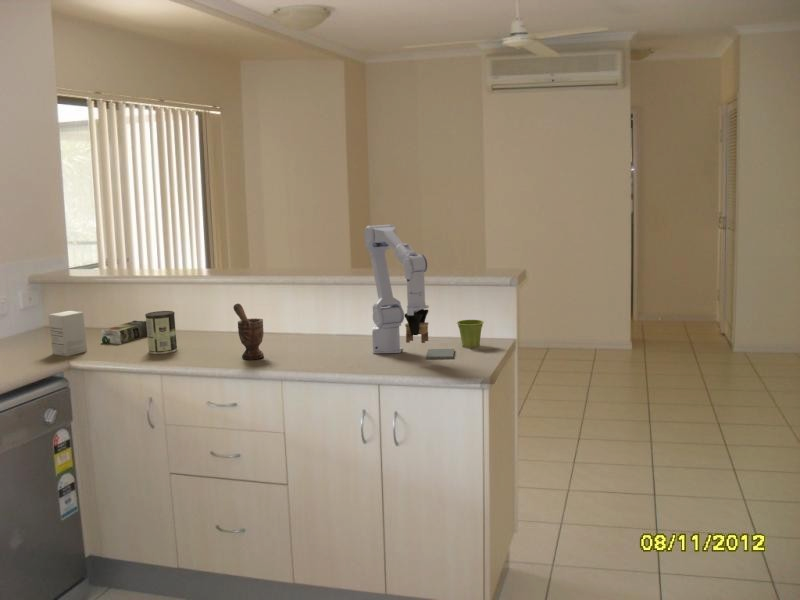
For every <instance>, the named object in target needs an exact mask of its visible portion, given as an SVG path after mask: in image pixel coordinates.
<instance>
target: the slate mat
mask: <svg viewBox="0 0 800 600" xmlns="http://www.w3.org/2000/svg"><path fill="white" fill-rule="evenodd" d="M454 355H455V348H428V349H427V352H426V356H425V360H440V359H441V360H450V359H451V360H452V359H454Z"/></svg>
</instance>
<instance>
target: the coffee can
mask: <svg viewBox="0 0 800 600" xmlns="http://www.w3.org/2000/svg"><path fill="white" fill-rule="evenodd" d="M175 314H176V313H175V311H173V310H159V311H150V312H147V313H145V315H144V316H145V321H146V325H147V336H146V337H147V344H148V345H147V346H148V353H149V354H152V355H153V354H154V355H165V354H171V353H174V352H176V351H178V345H177V333H176V319H175Z"/></svg>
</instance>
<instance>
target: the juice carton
mask: <svg viewBox="0 0 800 600" xmlns="http://www.w3.org/2000/svg"><path fill="white" fill-rule="evenodd" d="M101 337H102V338H101V342H102V344H106V343H108V344H113V345H114V344H118V345H121V344H126V343H129V342H131V341H132V342H133V341H135V340H139V339H142V338H143V339H144V338H145V337H146V338H147V337H148V336H147V325H146V320H144V321H143V320H132V321H130V322H126V323H125V322H124V323H123V324H121V323H120V324H118V325H114V326H110V327H107V328H103V329H101Z"/></svg>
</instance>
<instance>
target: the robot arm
mask: <svg viewBox="0 0 800 600" xmlns="http://www.w3.org/2000/svg"><path fill="white" fill-rule="evenodd" d="M363 239H364V244H365V248H366V249H365V250H366V251H367V252H369V255H370V260H371V266H372V272H373V277H374V282H375V287H376V293H377V298H378V299H377V300H376V302H375V303H373V305H372V320H373V323H374V325H376V326H373V327H372V335H371V336H372V354H400V353H401V352H402V350H403V347H402V346H401V339H400V336H401V335H400V334H401V333H400V326H402V323H404V320H405V319H406V321H407V323H408V324H409V327H410V331H411V335H413V336H419V334H418V333H419V325H420V322H426V318H427V315H428V313H429V307H430V305H426V291H425V289H426V288H425V273H426V272H427V269H428V260H427V258H426V256H425V255H424V254H419V253H417V252H416V251H415V250H414V249H413V248H412V247H411V245H410V244H409V243H408V242H407V243H405V242H403V241H401V239H400V237H399V236H398V235H397V229H396V227H395V226H394V224H392V223H388V224H379V225H378V224H377V225H367V226H366V227H365V229H364V232H363ZM390 249H392V250H393V251H394V256H395V257H396V259H397V260H398V261H399V262H400V263H401V265H402V269H403V271H404V277H405V279H406V296H407V297H406V298H407V301H406V302H407V305H406V313H405V311H404V309H403V306H402V305H401V301H400V300H398V299H397V298H395V297H394V295H393V290H392V285H391V279H390V274H389V269H388V264H387V258H386V251H388V250H390Z"/></svg>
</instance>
